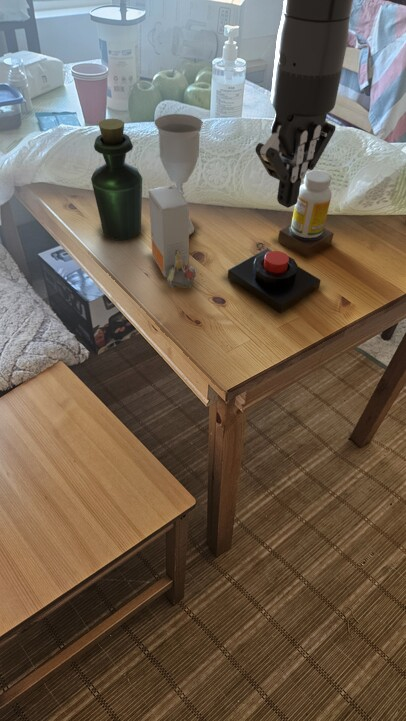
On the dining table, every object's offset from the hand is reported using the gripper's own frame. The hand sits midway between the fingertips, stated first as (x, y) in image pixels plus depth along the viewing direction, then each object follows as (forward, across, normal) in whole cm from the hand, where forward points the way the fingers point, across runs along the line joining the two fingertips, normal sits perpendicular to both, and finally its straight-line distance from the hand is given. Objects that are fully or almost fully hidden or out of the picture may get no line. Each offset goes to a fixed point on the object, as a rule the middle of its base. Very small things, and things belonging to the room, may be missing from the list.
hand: (287, 203), depth 69 cm
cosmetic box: (+14, -9, +14) cm, 22 cm away
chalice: (+14, -1, +21) cm, 25 cm away
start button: (+10, 0, 0) cm, 11 cm away
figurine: (+14, -11, +9) cm, 20 cm away
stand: (+14, +12, +4) cm, 19 cm away
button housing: (+14, 0, 0) cm, 14 cm away
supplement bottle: (+11, +12, +4) cm, 17 cm away
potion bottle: (+14, -9, +27) cm, 32 cm away
